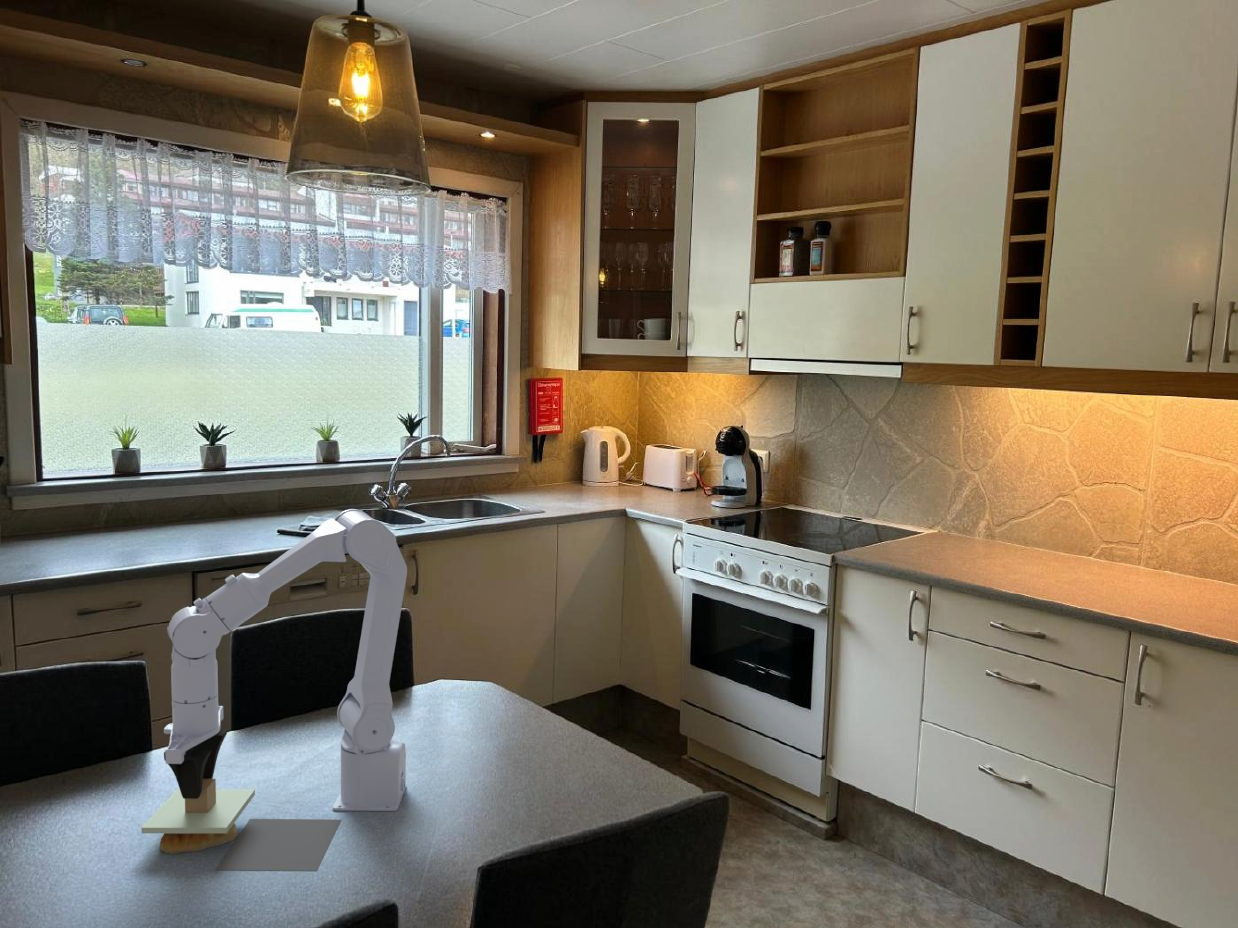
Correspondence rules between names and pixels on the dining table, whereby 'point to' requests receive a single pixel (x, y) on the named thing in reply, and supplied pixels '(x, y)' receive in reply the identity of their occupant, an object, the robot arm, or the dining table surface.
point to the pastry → (194, 841)
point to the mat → (280, 845)
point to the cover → (200, 811)
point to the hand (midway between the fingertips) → (197, 790)
